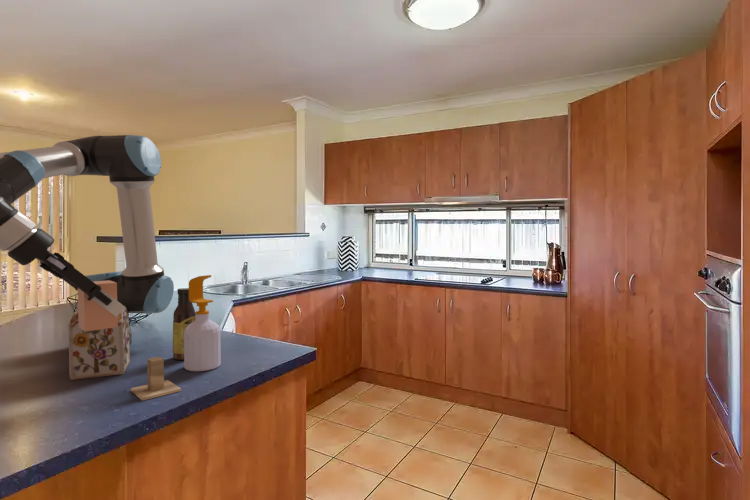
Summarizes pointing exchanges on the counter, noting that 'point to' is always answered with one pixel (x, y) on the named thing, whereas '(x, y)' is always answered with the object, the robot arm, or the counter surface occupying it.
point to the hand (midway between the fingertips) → (116, 309)
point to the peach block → (96, 309)
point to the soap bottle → (201, 333)
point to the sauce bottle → (182, 321)
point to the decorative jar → (98, 349)
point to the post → (155, 381)
